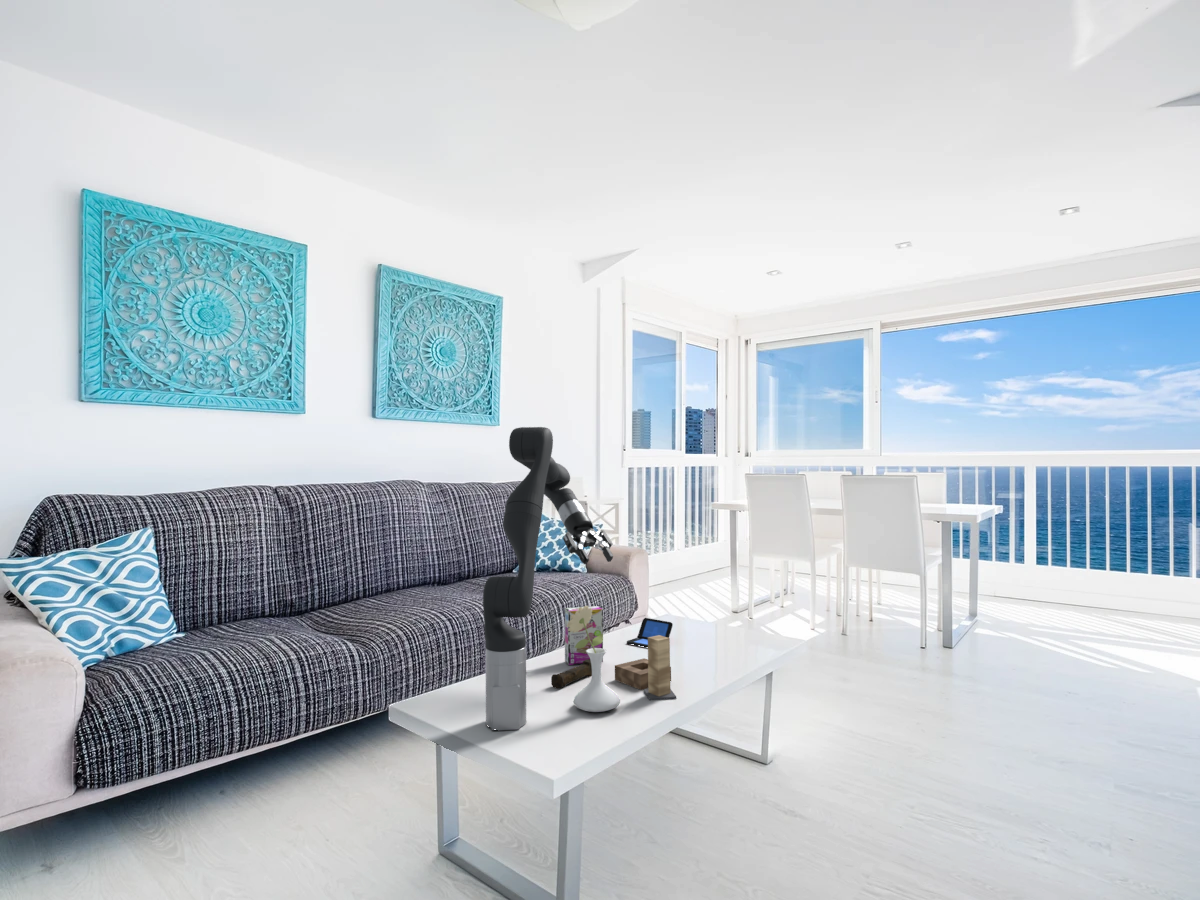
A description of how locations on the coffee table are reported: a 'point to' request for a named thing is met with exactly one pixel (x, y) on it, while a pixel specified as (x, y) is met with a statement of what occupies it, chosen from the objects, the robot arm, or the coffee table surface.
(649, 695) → the rubber pad
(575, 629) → the flower in vase
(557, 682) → the brown wooden log
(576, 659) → the candy bar box
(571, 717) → the coffee table surface
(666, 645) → the oak peg
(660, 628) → the handheld game console
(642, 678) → the socket block
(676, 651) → the coffee table surface
